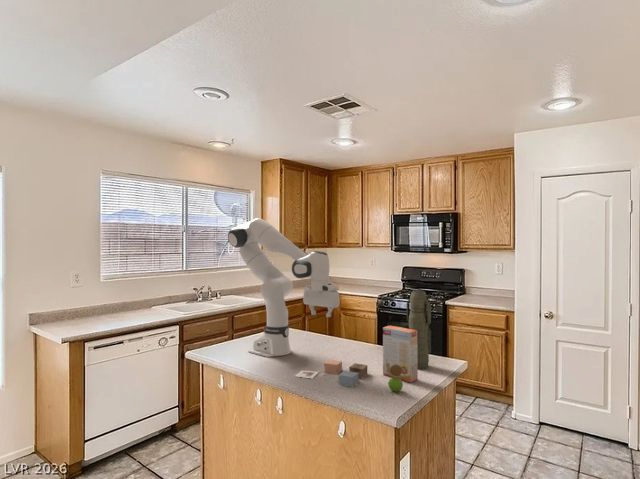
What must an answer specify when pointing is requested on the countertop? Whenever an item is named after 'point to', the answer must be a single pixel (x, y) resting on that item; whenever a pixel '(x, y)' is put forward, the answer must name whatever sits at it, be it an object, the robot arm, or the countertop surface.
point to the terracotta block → (333, 366)
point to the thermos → (420, 324)
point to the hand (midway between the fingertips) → (321, 315)
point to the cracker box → (400, 351)
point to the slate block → (348, 378)
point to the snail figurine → (394, 377)
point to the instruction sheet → (306, 374)
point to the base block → (359, 369)
